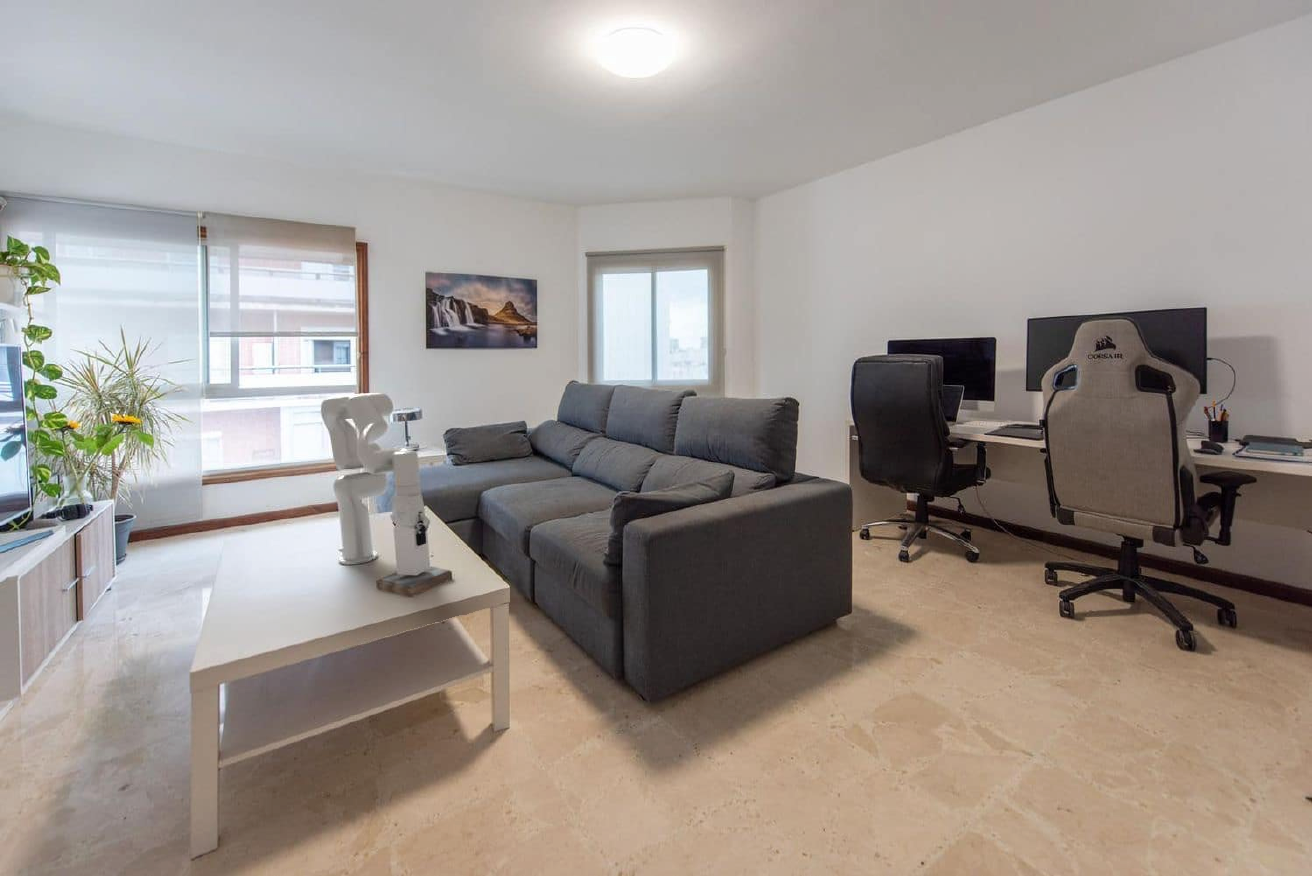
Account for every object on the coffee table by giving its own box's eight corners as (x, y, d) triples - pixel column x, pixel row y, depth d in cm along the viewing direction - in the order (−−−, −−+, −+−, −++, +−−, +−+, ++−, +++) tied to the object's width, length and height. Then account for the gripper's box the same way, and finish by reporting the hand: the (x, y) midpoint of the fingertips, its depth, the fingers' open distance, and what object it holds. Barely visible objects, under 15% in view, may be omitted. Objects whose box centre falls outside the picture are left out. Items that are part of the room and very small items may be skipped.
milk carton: (417, 576, 179) (412, 517, 177) (396, 574, 181) (392, 516, 178) (430, 568, 186) (426, 511, 183) (410, 566, 188) (406, 510, 185)
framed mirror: (376, 588, 180) (375, 579, 180) (418, 571, 194) (417, 563, 194) (411, 597, 173) (411, 587, 173) (452, 578, 187) (451, 570, 187)
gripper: (378, 489, 180) (383, 542, 183) (417, 494, 173) (421, 550, 175) (398, 485, 187) (402, 536, 189) (436, 489, 179) (440, 542, 181)
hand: (411, 542), depth 182 cm, fingers closed on milk carton, 8 cm apart
